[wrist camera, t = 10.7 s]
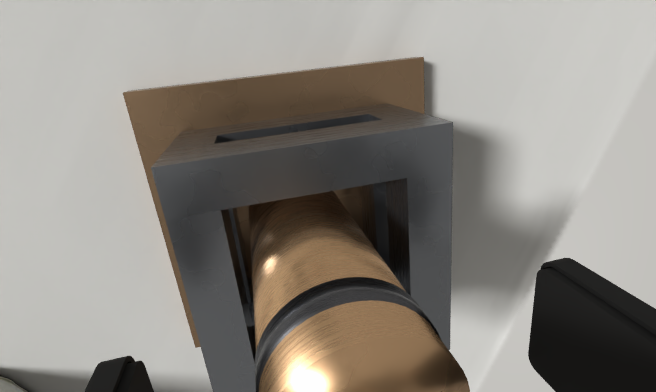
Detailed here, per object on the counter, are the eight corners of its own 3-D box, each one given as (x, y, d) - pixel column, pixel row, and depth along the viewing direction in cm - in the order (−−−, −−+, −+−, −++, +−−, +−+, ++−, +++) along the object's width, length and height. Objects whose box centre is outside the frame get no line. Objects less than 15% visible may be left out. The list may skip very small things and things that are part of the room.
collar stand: (130, 90, 15) (56, 110, 9) (413, 57, 17) (507, 55, 11) (197, 334, 19) (178, 456, 13) (418, 284, 21) (488, 372, 15)
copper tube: (239, 177, 16) (236, 371, 6) (333, 160, 17) (474, 311, 7) (257, 261, 18) (279, 533, 7) (342, 243, 18) (471, 470, 8)
